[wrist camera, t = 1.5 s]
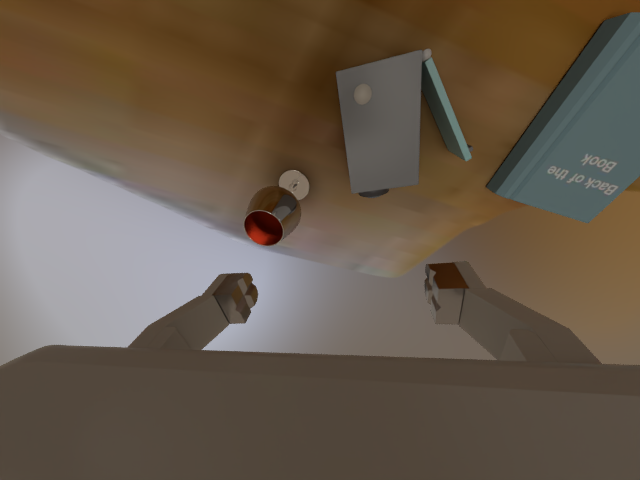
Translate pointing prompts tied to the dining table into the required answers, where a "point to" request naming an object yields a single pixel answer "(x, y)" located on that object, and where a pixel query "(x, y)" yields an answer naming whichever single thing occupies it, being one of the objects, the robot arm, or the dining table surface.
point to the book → (583, 131)
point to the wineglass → (276, 209)
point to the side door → (442, 108)
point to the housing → (382, 123)
